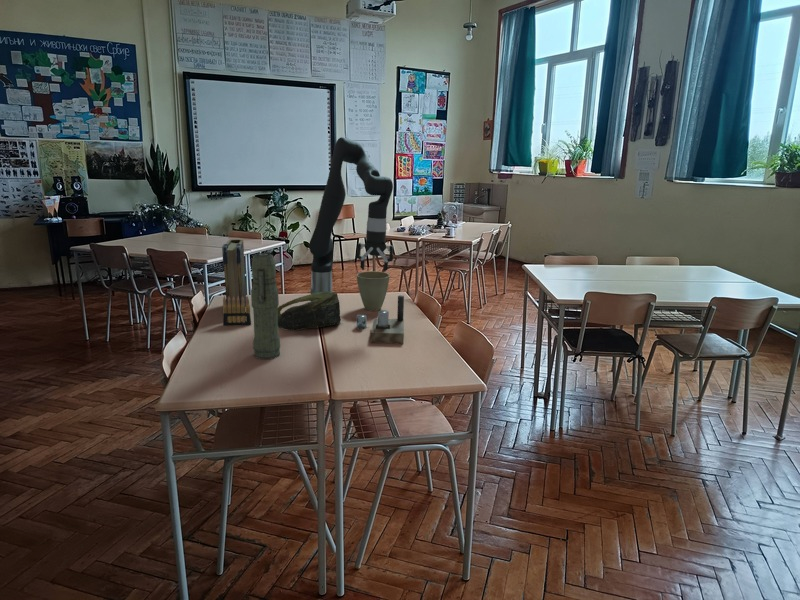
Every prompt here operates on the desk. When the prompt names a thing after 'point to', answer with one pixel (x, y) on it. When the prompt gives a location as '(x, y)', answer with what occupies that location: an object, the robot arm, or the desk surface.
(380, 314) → the tall pin
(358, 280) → the plant pot
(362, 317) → the short pin
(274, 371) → the desk surface
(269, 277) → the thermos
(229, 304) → the ammunition clip
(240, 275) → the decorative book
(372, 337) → the hole board
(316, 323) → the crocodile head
